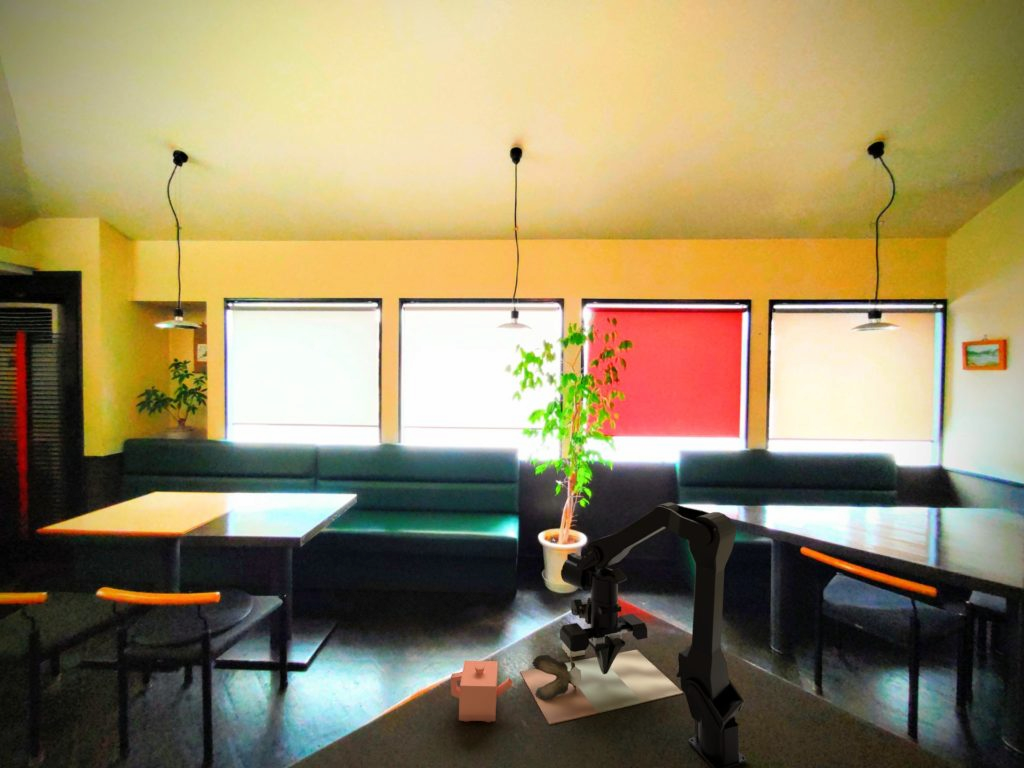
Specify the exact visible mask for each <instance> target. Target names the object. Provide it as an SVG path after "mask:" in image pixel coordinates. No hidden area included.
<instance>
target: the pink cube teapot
mask: <svg viewBox="0 0 1024 768" xmlns="http://www.w3.org/2000/svg"><path fill="white" fill-rule="evenodd" d="M462 668H463V669H462V672H460V671H459V672H454V673H451V676H450V695H451V696H452V697H455V698H456V699H458V701H459V702H458V703H459V704H458V721H462V722H465V723H466V722H467V723H468V722H471V721H472V722H484V723H485V722H486V723H491V722H496V716H497V715H496V714H497V698H498V697H500V696H501V695H503V694H504V693H506V692H507V691H509V690H510V689H511V688H513V687H514V682H513V680H512V678H511V677H508V678H507V679H506V680H504V681H503V682H502V683H500V684H499V685H498V661H497V660H464V662H463V667H462ZM458 681H460V683H459V686H458Z"/></svg>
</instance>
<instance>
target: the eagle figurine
mask: <svg viewBox="0 0 1024 768" xmlns="http://www.w3.org/2000/svg"><path fill="white" fill-rule="evenodd" d="M569 658H570V659H569V660H570V661H569V662H571V670H570V671H568V667H567V665H566V664H565V663H566V662H564V661H563V660H562V661H560V660H557V658H554V657H552V656H551V655H550V654H542V655H541V654H540V655H537V656H536V657H535V658H534V659H533V661H532V663H531V664H532V666H533V667H534V669H538V670H540V671H543V672H545V673H547V674H552V675H555V676H556V678H555V679H554V681H552V682H550V683H548V684H546V685H544V686H542V687H539V688H537V690H536V693H535V695H536V697H538V698H542V700H545V701H546V700H550V699H553V697H556V696H557V695H559V694H564V693H565V692H566V691H567V690H568V686H569V685H568V684H569V683H570V684H572V685H573V687H574V688H575V689H576V686H577V685H578V683H579V682H580V681H581V672H580V671H581V670H579V669H578V668H577V667H575V663H573V657H572V656H571V657H569Z"/></svg>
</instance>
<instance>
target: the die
mask: <svg viewBox="0 0 1024 768" xmlns="http://www.w3.org/2000/svg"><path fill="white" fill-rule="evenodd" d="M561 642H562V643H561V649H562V650H563V651H564V652H565V654H566V653H567V654H566V655H567V656H568V658H570V657H571V656H572V658H575V657H579V656H584V655H586V650H582V651H577V652H573V651H570V649H569V648H568V647H567V646H566V645H565V644H564V642H563V641H562V640H561Z"/></svg>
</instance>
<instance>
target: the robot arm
mask: <svg viewBox="0 0 1024 768" xmlns="http://www.w3.org/2000/svg"><path fill="white" fill-rule="evenodd" d="M665 529H668V530H670V532H672V533H673V534H675V535H676V536H677V537H679V538H682V539H683V540H687V541H688V550H689V552H690V554H691V556H692V560H693V561H694V564H695V568H694V569H695V571H694V586H693V587H694V591H693V608H692V609H693V613H692V614H693V615H692V629H691V630H692V632H691V634H692V635H691V644H689V645H688V646H687V647H685V648H684V649H682V650H681V651H679V653H678V655H677V659H678V661H677V662H678V672H677V673H676V678H679V684H680V685H679V686H680V690H681V691H682V692H683V694H684V695H685V699H686V702H687V705H688V709H689V713H690V716H691V718H692V719H693V720H694V735H695V736H693V737H690V738H689V739H688V743H689V744H690V745H691V746H692V747H693V748H694V750H695V751H696V752H697V753H698V754H699V755H700V756H701V757H702V759H704V760H705V761H706V763H707V764H708V765H709V766H710V767H711V768H733V767H737V766H740V765H744V764H746V763H747V757H746V756H745V755H744V754H743V753H742V752H740V742H739V741H740V737H739V736H740V735H739V734H740V732H739V731H740V730H739V728H740V727H739V724H738V723H737V722H736V718H735V717H736V715H737V714H738V713H739V712H740V711H741V710H742V708H743V706H744V704H745V701H744V700H745V699H743V697H742V695H741V694H740V693H739V691H738V690H737V689H736V686H735V685H734V684H733V682H732V681H731V680H730V676H729V669H728V667H729V666H728V663H727V660H726V658H725V656H724V653H723V651H722V629H723V628H722V626H723V608H724V607H723V604H724V586H725V585H724V584H725V583H724V582H725V567H726V564H727V563H728V561H729V558H730V556H731V554H732V551H733V548H734V545H735V544H734V543H735V539H736V536H737V528H736V524H735V523H734V521H732V520H731V518H730V517H729V516H728V515H726V514H724V513H722V512H718V511H712V512H708V511H704V510H702V509H696V508H692V507H687V506H682V505H681V504H680V505H679V504H676V503H674V502H664V503H661V504H659V505H655V507H654V508H653V509H652V510H650V511H649V512H647V513H646V514H644V515H642V516H641V517H639V518H637V519H636V520H634V521H633V522H631V523H630V524H628V525H626V526H625V527H623V528H621V529H620V530H618V531H616V532H615V533H611V534H609V535H606V536H602V537H599V538H595V539H594V540H593V539H592V540H590V541H589V542H588V543H587V544H586V546H585V547H586V551H585V552H584V554H583V555H582V556H581V555H579V554H578V553H577V552H576V553H575V552H571V553H567V555H566V558H567V559H565V561H564V563H563V565H562V568H561V570H560V577H561V580H562V581H563V582H564V583H566V584H569V585H570V586H574V587H575V588H578V589H580V590H582V591H588V590H590V597H588V598H587V600H585V601H582V599H581V598H580V599H579V598H575V599H571V601H570V611H571V614H572V616H577V617H578V618H579V619H584V622H585V623H586V624H587V625H590V627H588V628H583V627H582V626H581V625H580V624H578V622H574V623H567V624H563V625H562V626H561V627H560V630H559V639H560V640H561V642H562V641H563V642H564V644H565V645H566V646H567V647H568V648H569V649H570V651H573V652H577V651H582V650H585V651H586V650H587V649H588V648H589V646H590V647H592V649H593V650H594V655H595V657H597V660H598V663H599V666H600V669H601V672H602V673H603V674H607V673H608V671H609V669H610V667H611V665H612V663H613V661H614V659H615V657H616V656H617V654H618V653H620V651H621V650H622V648H623V647H625V646H626V641H624V640H623V638H622V637H623V636H622V635H623V634H625V633H631V632H632V636H633V638H635V639H636V640H637V641H639V640H644V639H648V637H649V632H648V631H649V628H648V626H647V624H646V622H644V621H643V620H641V619H640V618H639V617H638V616H637V615H635V614H634V613H628V614H622V615H619V613H621V612H622V606H621V605H620V604H619V594H618V593H619V590H618V589H619V584H620V583H622V582H623V583H624V582H625V581H627V580H628V578H627V576H626V575H625V573H623V572H622V570H621V568H620V567H616V568H615V569H612V568H608V566H612V565H614V564H617V563H619V562H621V561H623V560H622V559H624V558H625V557H626V556H627V555H628V554H629V553H630V551H631V549H632V548H634V547H635V546H637V545H638V544H640V543H641V542H644V541H645V540H647V539H649V538H651V537H652V536H654V535H655V534H656V535H657V534H658V533H660V532H661V531H663V530H665Z"/></svg>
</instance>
